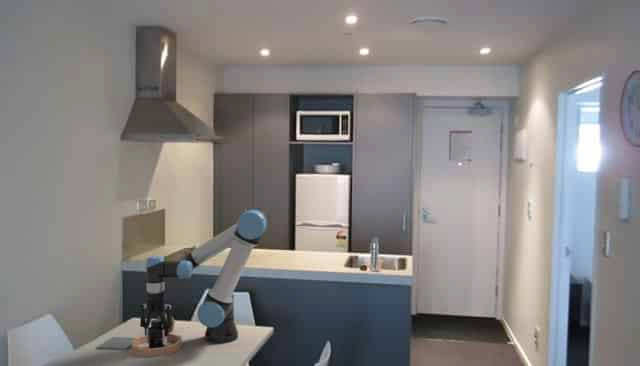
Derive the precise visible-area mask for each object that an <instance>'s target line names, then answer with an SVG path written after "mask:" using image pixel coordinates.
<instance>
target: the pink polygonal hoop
mask: <svg viewBox="0 0 640 366" xmlns="http://www.w3.org/2000/svg"><path fill="white" fill-rule="evenodd" d="M135 338H136V339H135V340H133V341H132V342H131V344H132V346H131V353H132V354H134V355H137V356H139V357H158V356H165V355H169V354H173V353H175V352H177V351H178V350H180V349H181V348H182V347H183V338H182V336H181V335H179V334H176V333H172V332H171V333H169V335H168V336H167V341H170V342H175V343H173V344H169V345H167V346H166V345H165V347H161V348H153V349H150V348H149V347H148V348H146V347H140V345H142V344H147V337H146V336H145V335H143V336H138V337H135Z"/></svg>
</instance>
